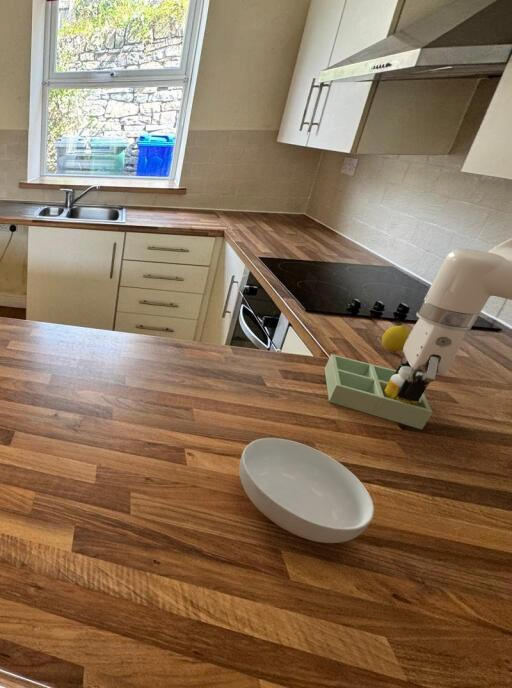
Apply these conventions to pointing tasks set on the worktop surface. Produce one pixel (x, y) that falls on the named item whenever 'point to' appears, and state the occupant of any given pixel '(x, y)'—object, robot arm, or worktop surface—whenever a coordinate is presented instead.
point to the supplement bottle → (399, 385)
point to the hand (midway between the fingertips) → (404, 390)
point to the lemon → (395, 338)
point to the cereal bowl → (305, 490)
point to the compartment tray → (370, 392)
